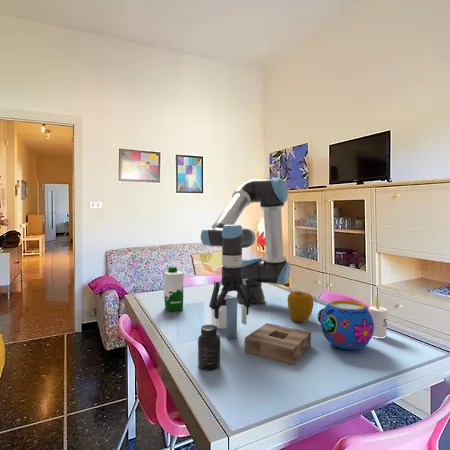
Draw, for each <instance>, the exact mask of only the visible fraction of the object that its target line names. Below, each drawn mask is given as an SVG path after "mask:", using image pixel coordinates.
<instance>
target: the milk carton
mask: <svg viewBox="0 0 450 450" xmlns="http://www.w3.org/2000/svg"><path fill="white" fill-rule="evenodd" d="M163 273H164V274H163V275H164V281H163V282H164V286H163V287H164V296H163V297H164V308H165V310H167V312H168V313H171V312H179V311H180V312H181V311H184V273H183V272H182V271H180V270H178V267H176V266H169V267H168V271H164V272H163Z"/></svg>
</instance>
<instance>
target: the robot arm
mask: <svg viewBox="0 0 450 450" xmlns="http://www.w3.org/2000/svg"><path fill="white" fill-rule="evenodd" d="M288 191H289V190H288V187H287V184H286V182H285V180H284V179H283V178H281V177H267V178H253V179H250V180H247V181H245V182H244V183H242V184H241V185H239V186H238V187H236V189H235V190H234V191H233V193H232V196H231V197H232V198H231V200H230V201H229V202H228V204H227V205H226V206H225V207H224V209H223V211H222V212H221V213H220V214H219V216H218V217H217V219H216V221H214V223H213V225H212V226H210V227H205V228H203V229H202V230H201V232H200V240H201V244H202V245H204V246H206V247H207V246H208V247H221V250H222V251H221V265H222V267H221V280H219V281H218V280H217V281H216V280H214V281H213V291H212V295H211V298H210V301H209V305H208V306H209V308H210V309H211V310H212V309H214V317H215V318H216V326H217V327H218V328H217V329H220V328H221V310H220V309H219V308H220V306H221V304H222V302H223V300H224V298H225V296H226V295H229V293H230V292H237V294H236V297H237V303H239V304H243V305H241V323H242V324H243V325H248V324H247V323H248V322H247V318H248V317H247V316H248V315H249V314H250V313H249V312H250V311H249V310H250V309H249V308H251V306H252V305H260V304H263V302H264V303H265V302H266V301H265V299H266V297H265V294H264V290H263V286H262V285H263V284H269V285H277V286H278V285H281V286H282V285H286V284H287V283H288V282H289V279H290V276H291V269H292V268H291V263H290V262H289V261H288V260H287V257H286V256H285V255H284V244H283V243H284V242H283V240H284V239H283V221H282V208H283V207H284V206H285V203H286V202H287V201H288V196H289V195H288V194H289V192H288ZM252 203H260V204H259V205H260V208H261V209H263V218H264V219H263V220H264V221H263V222H264V223H263V224H264V236H265V237H264V239H265V240H264V241H265V255H264V257H260V256H253V257H246V258H243V249H244V248H245V249H247V248H250V247H251V246H253V245H254V244H255V242H256V234H255V232H254V231H253V230H252V229H250V228H243V226H242V225H241V224H236V222H237V221H238V219H239V217H240V216H241V214H242V213H243V211H244V210H245V208H247V207H249V205H250V204H252ZM221 285H222V288H221ZM220 288H221V292H220ZM219 292H220V293H219ZM218 295H219V297H218V299H217V296H218ZM216 300H217V301H216Z"/></svg>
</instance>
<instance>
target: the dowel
mask: <svg viewBox="0 0 450 450" xmlns="http://www.w3.org/2000/svg"><path fill="white" fill-rule="evenodd" d="M225 330H226V331H225V332H226V333H225V336H226V337H225V338H226V339H227V340H237V338H238V302H237V296H232V297H227V298H226V329H225Z"/></svg>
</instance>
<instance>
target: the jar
mask: <svg viewBox="0 0 450 450" xmlns="http://www.w3.org/2000/svg"><path fill="white" fill-rule="evenodd" d="M219 295H220V294H218V296H217V299H218V297H219ZM227 297H233V296H232V295H231V294H226V296H225V298H224V300H223V302H222V304H221V306H220V308H219V309H220V310H221V328H218V327H217V326H216V318H215V317H214V309H211V325H215V326H216V327H217V329H220V330H221V329H222V330H223V329H225V330H226V298H227ZM216 301H217V300H216Z"/></svg>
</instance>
